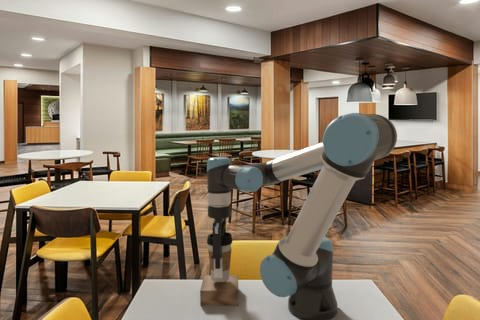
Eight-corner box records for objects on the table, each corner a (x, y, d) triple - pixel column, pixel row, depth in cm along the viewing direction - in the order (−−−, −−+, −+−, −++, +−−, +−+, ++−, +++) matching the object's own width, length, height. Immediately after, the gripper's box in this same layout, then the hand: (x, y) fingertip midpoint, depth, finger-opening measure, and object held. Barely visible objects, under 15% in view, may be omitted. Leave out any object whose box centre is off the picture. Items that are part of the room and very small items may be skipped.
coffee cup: (229, 284, 120) (229, 238, 119) (204, 282, 122) (203, 237, 120) (235, 274, 128) (234, 231, 127) (211, 272, 130) (210, 230, 128)
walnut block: (238, 288, 132) (238, 275, 131) (238, 305, 120) (237, 290, 119) (204, 289, 132) (203, 275, 131) (200, 305, 120) (200, 290, 119)
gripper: (212, 198, 133) (213, 260, 135) (201, 211, 113) (203, 285, 115) (234, 198, 132) (234, 261, 134) (226, 212, 112) (227, 285, 114)
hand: (220, 272), depth 125 cm, fingers closed on coffee cup, 7 cm apart
